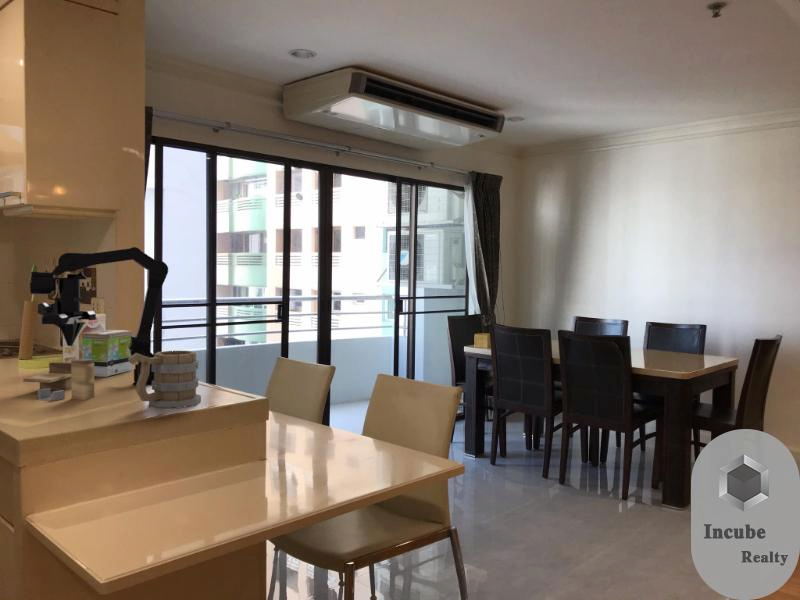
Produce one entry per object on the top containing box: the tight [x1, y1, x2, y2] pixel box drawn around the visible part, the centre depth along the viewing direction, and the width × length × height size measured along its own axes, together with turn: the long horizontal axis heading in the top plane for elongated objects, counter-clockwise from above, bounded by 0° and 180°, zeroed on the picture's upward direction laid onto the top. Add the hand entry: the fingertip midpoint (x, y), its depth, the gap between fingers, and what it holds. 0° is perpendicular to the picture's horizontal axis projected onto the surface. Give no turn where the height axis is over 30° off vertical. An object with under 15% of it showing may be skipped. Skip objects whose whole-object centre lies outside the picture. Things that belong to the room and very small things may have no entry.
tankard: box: [128, 350, 202, 409], centre depth 175 cm, size 20×13×15 cm, turn 141°
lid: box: [22, 361, 71, 383], centre depth 188 cm, size 13×8×4 cm, turn 174°
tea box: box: [82, 329, 133, 378], centre depth 226 cm, size 15×10×15 cm, turn 171°
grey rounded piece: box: [37, 388, 66, 402], centre depth 177 cm, size 6×7×3 cm
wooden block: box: [71, 359, 95, 401], centre depth 178 cm, size 4×4×12 cm
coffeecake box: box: [62, 313, 107, 363], centre depth 236 cm, size 15×7×20 cm, turn 168°
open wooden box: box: [39, 377, 72, 391], centre depth 195 cm, size 13×8×4 cm, turn 174°
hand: (69, 345), depth 197 cm, fingers closed
